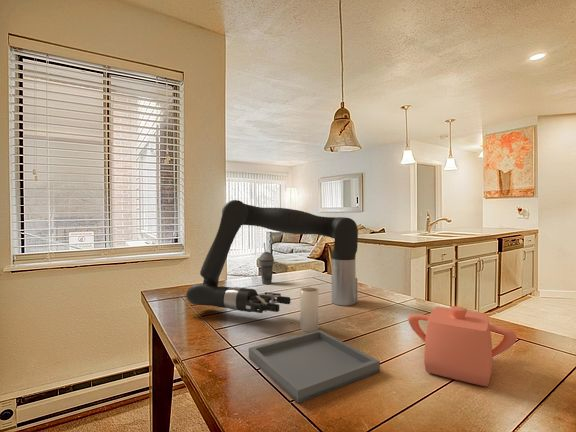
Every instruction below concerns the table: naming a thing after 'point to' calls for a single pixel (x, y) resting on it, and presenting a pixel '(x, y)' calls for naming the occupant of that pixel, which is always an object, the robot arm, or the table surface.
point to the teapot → (460, 343)
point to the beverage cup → (266, 266)
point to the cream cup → (309, 309)
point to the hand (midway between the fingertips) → (284, 304)
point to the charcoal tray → (312, 364)
